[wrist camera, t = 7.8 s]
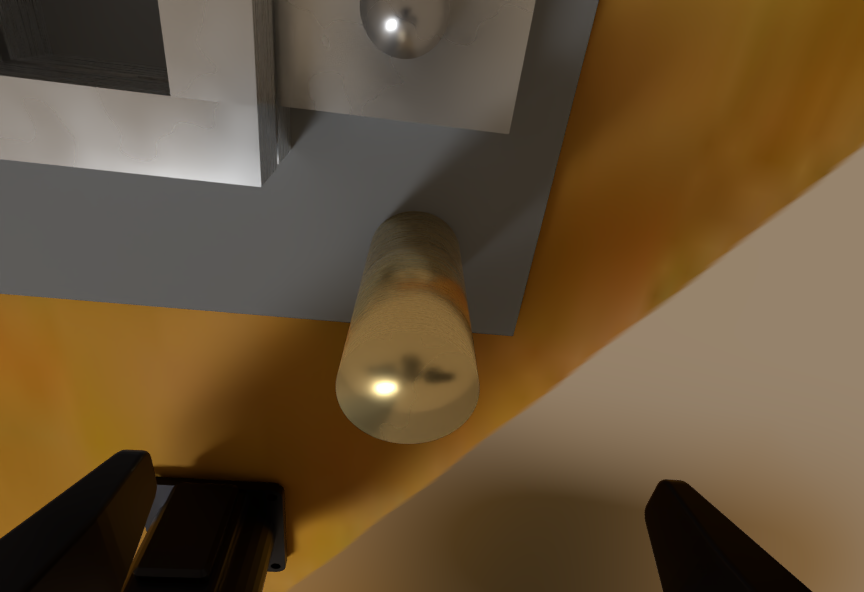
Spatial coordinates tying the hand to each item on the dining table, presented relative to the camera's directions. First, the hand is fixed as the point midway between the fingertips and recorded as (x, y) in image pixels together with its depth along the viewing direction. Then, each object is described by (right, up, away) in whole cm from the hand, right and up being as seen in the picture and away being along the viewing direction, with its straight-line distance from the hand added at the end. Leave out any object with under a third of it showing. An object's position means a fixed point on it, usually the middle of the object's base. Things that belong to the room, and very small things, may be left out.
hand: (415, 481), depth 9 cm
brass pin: (0, +5, +8) cm, 9 cm away
